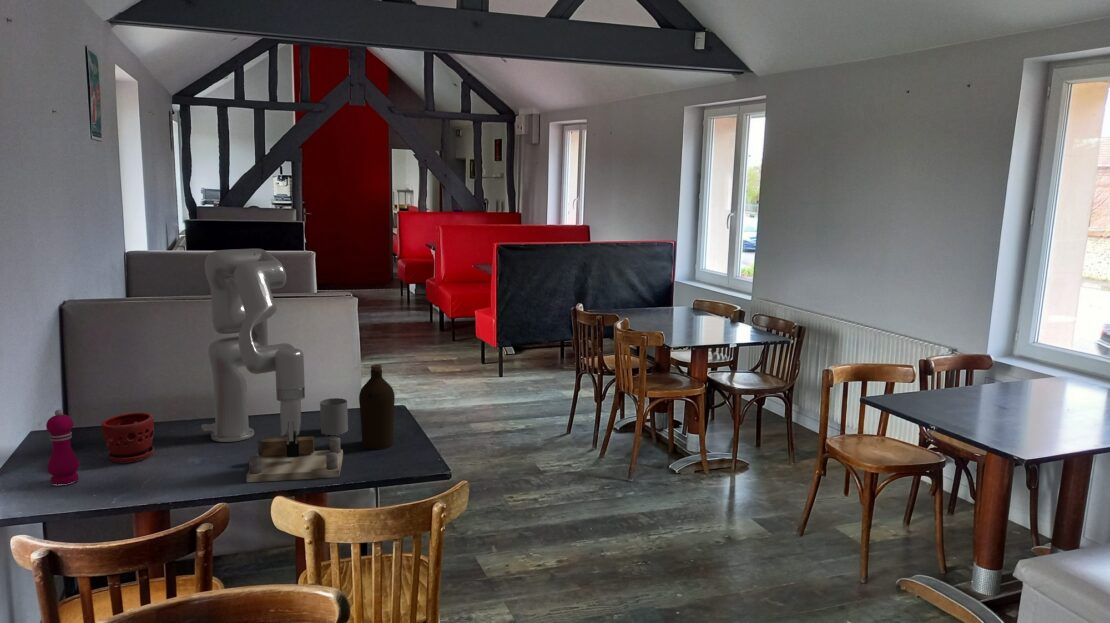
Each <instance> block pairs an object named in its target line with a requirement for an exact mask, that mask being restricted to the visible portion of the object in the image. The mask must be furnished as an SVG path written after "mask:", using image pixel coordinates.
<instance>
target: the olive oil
mask: <svg viewBox="0 0 1110 623" xmlns="http://www.w3.org/2000/svg"><path fill="white" fill-rule="evenodd" d="M382 366H383V365H382V364H372V365H370V368H371V369H370V378H369V379H368V381H366V382H365V384H364V385H363V386H362V387H361V389H360V392H359V395H358V403H359V415H360V425H361V426H360V427H361V441H362V442H361V443H362V444H361V445H362V447H364V448H366V449H368V450H381V449H388V448H390V447H392V446H393V445H394V426H395V401H396V400H395V399H396V397H395V392H394V389H393V387H392V385H390V384H389V383H388V382H387V380H385V379H384V378H383V370H382Z"/></svg>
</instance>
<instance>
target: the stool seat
mask: <svg viewBox="0 0 1110 623" xmlns="http://www.w3.org/2000/svg"><path fill="white" fill-rule="evenodd" d="M343 458H344V450H343V449H341V438H340V437H338V436H337V437H335V436H333V437H331V438H329V450H327V449H324V450H314V453H304V454H299V457H290V458H288V457H287V454H285V455H266V456H262V455H258V453H257V454H256V455H255V456H251V457H249V458H248V464H249V466H248V467H249V470H248V471H247V474H246V483H258V482H263V483H264V482H277V481H278V482H280V481H292V480H293V481H294V480H295V481H296V480H312V479H327V478H328V479H331V478H340V476H341V475H340V474H341V471H342V470H341V469H342V465H343V464H342V463H343Z"/></svg>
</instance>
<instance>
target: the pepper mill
mask: <svg viewBox="0 0 1110 623" xmlns="http://www.w3.org/2000/svg"><path fill="white" fill-rule="evenodd" d="M73 427H74V421H73V418H72V417H71V416H70V415H67V414H64V413H63V410H62V409H59V408H58V409H56V410H55V411H54V415H53V416H51V417H49V419H48V420H47V421H46V430H47V432H49V433H50V434H49V436H48V437H49V441H51V443H52V452H51V455H50V457H49V460H48V462H47V468H46V469H47V472H48V474H49V475H51V477H50V484H51V483H52V484H57V485H58V484H68V483H71V482H74V481H77V480H78V479H79V473H78V472H77V471H78V470H79V468H80V461H79V458H78V456H77V455H76V453H75V451H74V450H73V448H72V445H71V439H72V437H73V433H72V431H71V430H72V429H73ZM79 480H80V479H79ZM79 480H78V481H79ZM78 481H77V482H78Z"/></svg>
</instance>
